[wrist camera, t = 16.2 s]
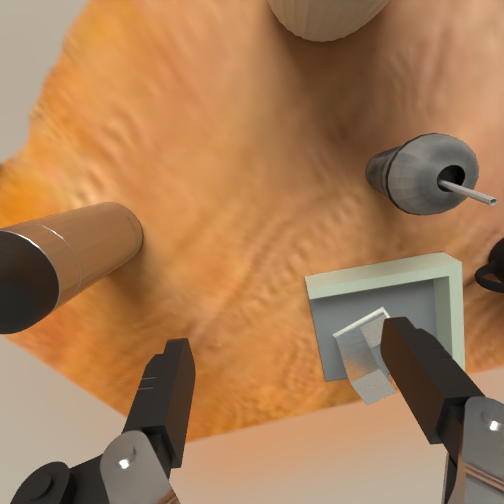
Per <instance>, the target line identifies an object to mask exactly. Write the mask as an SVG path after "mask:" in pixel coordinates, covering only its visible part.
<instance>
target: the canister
mask: <svg viewBox="0 0 504 504" xmlns="http://www.w3.org/2000/svg"><path fill="white" fill-rule="evenodd" d="M390 1H392V0H267V2H268V4H269V5H270V8H271V10H272V12H273V14H274V15H276V17H277V18H278V20H279V22H280V23H281V24H283V25H284V26H285V27H286V29H287V30H289V31H291V32H292V33H294V35H295V36H300V37H302V38H303V39H307V40H311V41H313V42H315V41H321V42H325V41H334V40H336V39H338V38H344V37H345V36H347V35H348V34H351V33H354V32H355V31H357V30H358V29H359V28H360V27H362V26H364V25H365V24H367V23H368V22H369V21H370V20H371V19H372V18H373V17H374V16H375V15H377V14H378V13H379V12H380V11H381V10H382V9H383V8H384V7H385V6H386V5H387V4H388V3H389V2H390Z"/></svg>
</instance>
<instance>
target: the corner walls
mask: <svg viewBox="0 0 504 504" xmlns="http://www.w3.org/2000/svg"><path fill="white" fill-rule="evenodd" d="M441 252H442V251H441ZM441 252H440V253H438V252H435V253H430V254H424V255H419V256H413V257H408V258H402V259H397V260H391V261H386V262H380V263H375V264H369V265H364V266H358V267H353V268H347V269H342V270H336V271H331V272H325V273H320V274H314V275H309V276H305V280H306V285H307V290H308V295H309V299H315V298H320V297H326V296H332V295H338V294H344V293H350V292H356V291H362V290H368V289H374V288H380V287H385V286H391V285H397V284H403V283H409V282H415V281H421V280H427V279H434V295H435V311H436V328H437V340H438V341H439V342H440V343H441V345H442V346H443V347H444V349H445V350H446V351H447V352H448V353H449V354H450V355H451V356H452V359H453V360H455V361H456V362H457V363H458V365H459V366H460V367H461V368H462V369H463V371H464V372H465V353H464V320H463V286H462V262H460V261H458V260H457V259H455V258H453V257H451V256H450V255H448V254H446V253H444V252H442V253H441Z"/></svg>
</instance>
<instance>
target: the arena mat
mask: <svg viewBox="0 0 504 504" xmlns="http://www.w3.org/2000/svg"><path fill="white" fill-rule="evenodd" d="M442 252H443V251H442ZM442 252H441V253H442ZM438 253H440V252H438ZM305 281H306V280H305ZM306 286H307V285H306ZM307 291H308V290H307ZM308 296H309V295H308ZM309 301H310V306H311V311H312V316H313V321H314V326H315V331H316V336H317V341H318V346H319V351H320V356H321V361H322V366H323V371H324V376H325V381H334V380H342V379H348V375H347V372H346V369H345V366H344V363H343V359H342V356H341V353H340V350H339V347H338V343H337V340H336V337H335V335H337V334H339V333H341V332H343V331H344V330H346V329H348V328H350V327H352V326H354V325H355V324H357V323H359V322H361V321H363V320H364V319H366V318H368V317H370V316H372V315H374V314H375V313H377V312H379V311H381V310H382V311H383V312H384V314H385V315H386V316H387V318H393V317H403V316H405V317H407V318H408V319H409V320H410V322H411V323H412V324H413V325H414V327H415V328H416V329H418V328H422V329H424V330H425V331H427V332H428V333H430V334H431V335H433V336H434V337H435V338H436V339H437V328H436V311H435V295H434V279H427V280H421V281H415V282H409V283H403V284H397V285H391V286H385V287H380V288H374V289H368V290H362V291H356V292H350V293H344V294H338V295H332V296H326V297H320V298H315V299H309ZM374 348H375V350H376V352H377V354H378V356H379V358H380V360H381V362H382V364H383V366H384V368H385V370H386V372H387V374H390V372H389V370H388V369H387V367H386V365H385V363H384V361H383V359H382V356H381V352H380V344H378V345H377V346H375V347H374Z"/></svg>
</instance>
